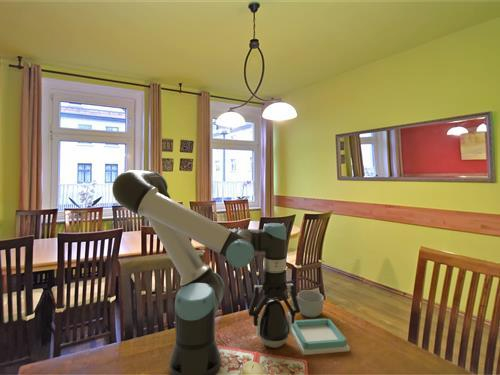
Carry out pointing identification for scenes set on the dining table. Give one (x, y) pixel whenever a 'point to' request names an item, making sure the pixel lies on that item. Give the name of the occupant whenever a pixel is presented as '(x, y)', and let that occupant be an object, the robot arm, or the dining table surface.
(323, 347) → the dock
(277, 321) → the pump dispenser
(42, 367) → the dining table surface
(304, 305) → the teacup
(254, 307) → the robot arm
